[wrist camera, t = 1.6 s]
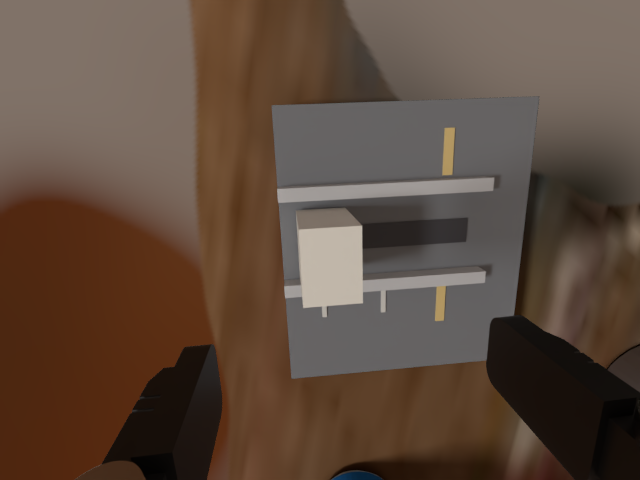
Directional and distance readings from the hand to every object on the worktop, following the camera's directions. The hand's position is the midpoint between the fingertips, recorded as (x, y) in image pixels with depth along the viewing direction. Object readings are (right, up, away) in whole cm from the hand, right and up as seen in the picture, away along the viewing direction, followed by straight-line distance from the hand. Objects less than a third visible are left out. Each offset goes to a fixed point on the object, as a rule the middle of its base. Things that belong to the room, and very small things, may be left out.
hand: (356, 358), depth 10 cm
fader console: (+4, +4, +15) cm, 16 cm away
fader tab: (-1, +3, +12) cm, 12 cm away
